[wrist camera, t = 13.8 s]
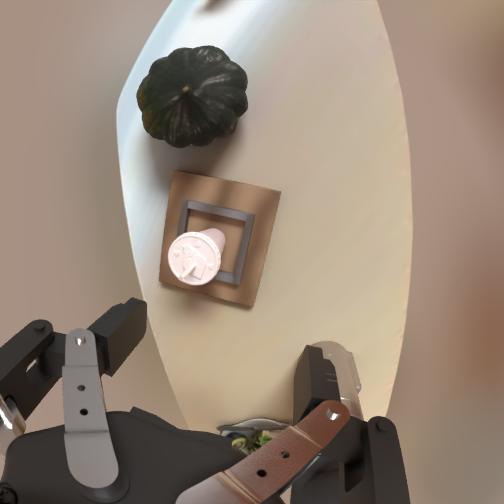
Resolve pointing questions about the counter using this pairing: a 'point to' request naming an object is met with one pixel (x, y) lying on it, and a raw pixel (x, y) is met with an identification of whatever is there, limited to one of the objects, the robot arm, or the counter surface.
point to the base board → (222, 230)
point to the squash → (192, 96)
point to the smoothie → (197, 256)
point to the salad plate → (252, 433)
